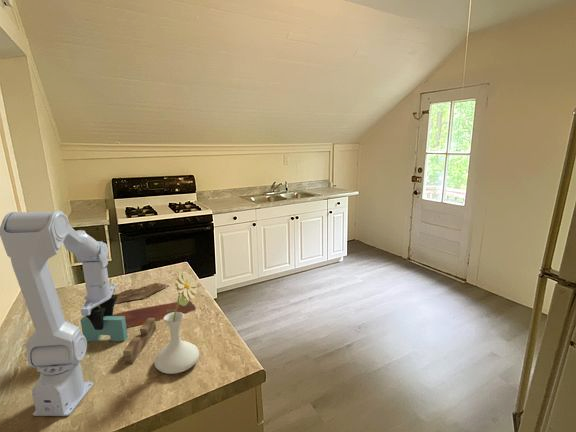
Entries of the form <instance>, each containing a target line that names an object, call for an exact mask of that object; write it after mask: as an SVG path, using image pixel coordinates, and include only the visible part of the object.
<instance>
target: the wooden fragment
mask: <svg viewBox="0 0 576 432" xmlns="http://www.w3.org/2000/svg"><path fill="white" fill-rule="evenodd" d="M169 286H170V285H169V284H164V283H161V282H154V283H150V284H148V285H146V286H141V287H139V288H135V289H132V288H130V289H127V290H124V291H121V292H119V293H116V294H113V295H117V300H116V302H115V305H116V304H119V303H124V302H130V301H135V300H140V299H146V298H148V297H150V296H152V295H154V294H156V293H157V292H160V291H162V290H163V289H165V288H166V287H169ZM98 307H100V306H99V305H98Z"/></svg>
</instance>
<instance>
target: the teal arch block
mask: <svg viewBox="0 0 576 432" xmlns="http://www.w3.org/2000/svg"><path fill="white" fill-rule="evenodd" d="M79 320H80V328H81V333H82V334H83V335H84V336H85V338H86V341H87V342H98V341H99V340H100V338H102V336H109V337H110V342H125V341H126V340H127V338H128V328H126V321H125V316H104V317H103V321H104V327H103V329H102V330H95V329H94V327H93V325H92V323H91V321H90V320H89V319H88V318H87V317H86V316H85V315H83V317H82V318H80V319H79Z"/></svg>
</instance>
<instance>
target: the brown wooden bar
mask: <svg viewBox="0 0 576 432" xmlns="http://www.w3.org/2000/svg"><path fill="white" fill-rule="evenodd" d="M156 331H157V325H156V321H155V318H148V319H147V320H146V322H145V323H144V324H142V326H141V327H140V328H139V333H140V335H139V336H138V337H135V336H134V337H133V338H132V339H130V341H129V343H128V344H127V345H126V347H125V348H124V349H123V350H122V355H123V362H124V365H133V364H134V363H135V361H136V360H137V358H138V357H139V355H140V353H141V352H142V351H143V349H144V348H145V346H147V343H148V342H149V341H150V339H151V337H153V335H154V333H155V332H156Z"/></svg>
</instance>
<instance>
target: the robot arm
mask: <svg viewBox="0 0 576 432" xmlns="http://www.w3.org/2000/svg"><path fill="white" fill-rule="evenodd" d="M0 238H1V242H2V244H3V248H4V250H5V253H6V256H7V257H8V258H10V261H11V263H10V264H11V266H12V269H13V272H14V275H15V277H16V280H17V283H18V286H19V288H20V291H21V294H22V296H23V300H24V302H25V304H26V308H27V310H28V311H27V312H28V313H29V315H30V319H31V321H32V324H33V327H34V329H35V330H34V331H33V332H32V334H31V335H30V336H29V337H28V338H27V341H26V343H25V347H26V361H27V364H28V365H29V366H30V367H31V368H36V372H37V373H40V375H39V377H38V380H37V382H36V383H35V384H34V385H33V387H32V389H31V396H32V399H33V405H34V408H35V410H34V412H32V415H33V416H34V417H35V416H36V417H43V416H44V417H45V416H49V417H50V416H51V417H68V416H70V415H71V414H72V413H73V411H74V410H75V409H76V407H77V406H78V405H79V403H80V402H81V401H82V400H83V399H84V397H85V396H86V394H87V393H88V392H89V391H90V389H91V388H92V387H93V386H94V382H93V381H85V380H84V374H83V369H82V365H81V364H82V363H81V362H82V360H84V358H85V355H86V352H87V349H88V341H86V338H85V336H84V335H83V333H82V330H81V329H80V328H81V327H79V326H77V325H74V324H72V323H71V322H69V321H66V319H65V318H66V317H65V315H64V311H63V308H62V305H61V301H60V298H59V295H58V292H57V288H56V286H55V283H54V279H53V276H52V273H51V270H50V266H49V263H48V260H49V259H50V258H52V257H54V256H56V255H57V254H58V253H59V251H60V249H61V247H62V245H64V246H63V247H64V249H65V250H67V252H69V253H71V254H73V255H74V256H75V260H76V261H77V263H81V265H82V270H83V278H84V283H85V289H86V295H85V296H84V297H83V298H84V299H83V300H85V301H84V304H83V305H82V307H81V308H80V315H81V316H86V317H87V318H88V319H89V320H90V321H91V323H92V325H93V327H94V329H95V330H102V329H103V327H104V321H103V317H104V316H113V315H114V309H115V305H116V304H115V302H116V300H117V295H114V294H113V293H115V292H116V291H117V285H116V284H110V281H109V274H108V264H109V258H108V257H109V247H108V245H107V243H106V242H103V240H101V241H100V240H99V241H98V240H96V239H95V238H94V237H92V236H90V235H89V234H87V233H86V231H85V230H84V229H79V230H75V229H74V228H73V227H72V226H71V225H70V222H69V218H68V215H67V214H65V213H64V212H63V211H61V210H54V211H28V212H24V211H23V212H18V211H10V212H9V213H7V214H6V215H5V216H4V217H3V219H2V221H1V224H0ZM98 305H99V306H100V307H98Z"/></svg>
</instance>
